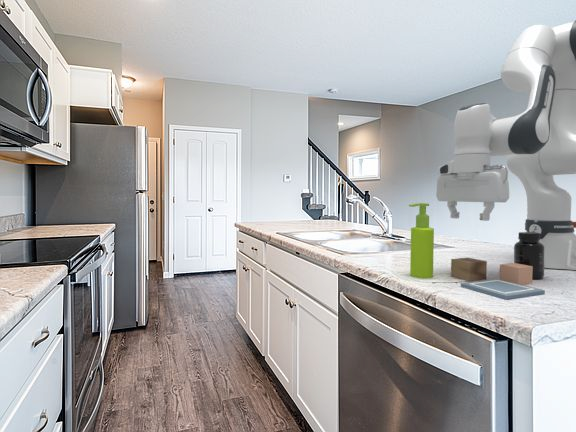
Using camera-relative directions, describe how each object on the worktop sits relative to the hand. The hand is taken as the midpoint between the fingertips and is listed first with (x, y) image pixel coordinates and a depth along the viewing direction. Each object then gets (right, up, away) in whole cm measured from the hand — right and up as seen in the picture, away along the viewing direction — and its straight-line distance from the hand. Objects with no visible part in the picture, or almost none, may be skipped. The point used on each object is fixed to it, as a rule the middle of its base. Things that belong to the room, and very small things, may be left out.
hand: (468, 219), depth 96 cm
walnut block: (0, -16, +1) cm, 16 cm away
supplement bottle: (+17, -16, +2) cm, 23 cm away
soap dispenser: (-11, -16, +4) cm, 20 cm away
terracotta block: (+10, -16, -4) cm, 19 cm away
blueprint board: (+2, -16, -11) cm, 20 cm away
